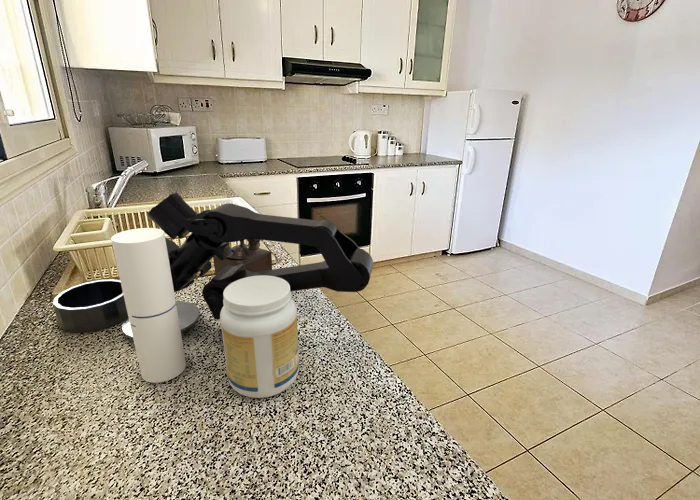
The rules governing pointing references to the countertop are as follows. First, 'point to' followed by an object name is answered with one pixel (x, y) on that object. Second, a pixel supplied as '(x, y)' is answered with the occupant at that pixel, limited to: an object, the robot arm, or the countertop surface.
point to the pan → (91, 306)
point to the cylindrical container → (150, 302)
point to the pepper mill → (246, 257)
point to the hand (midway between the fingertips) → (152, 300)
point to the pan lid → (186, 316)
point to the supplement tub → (260, 335)
